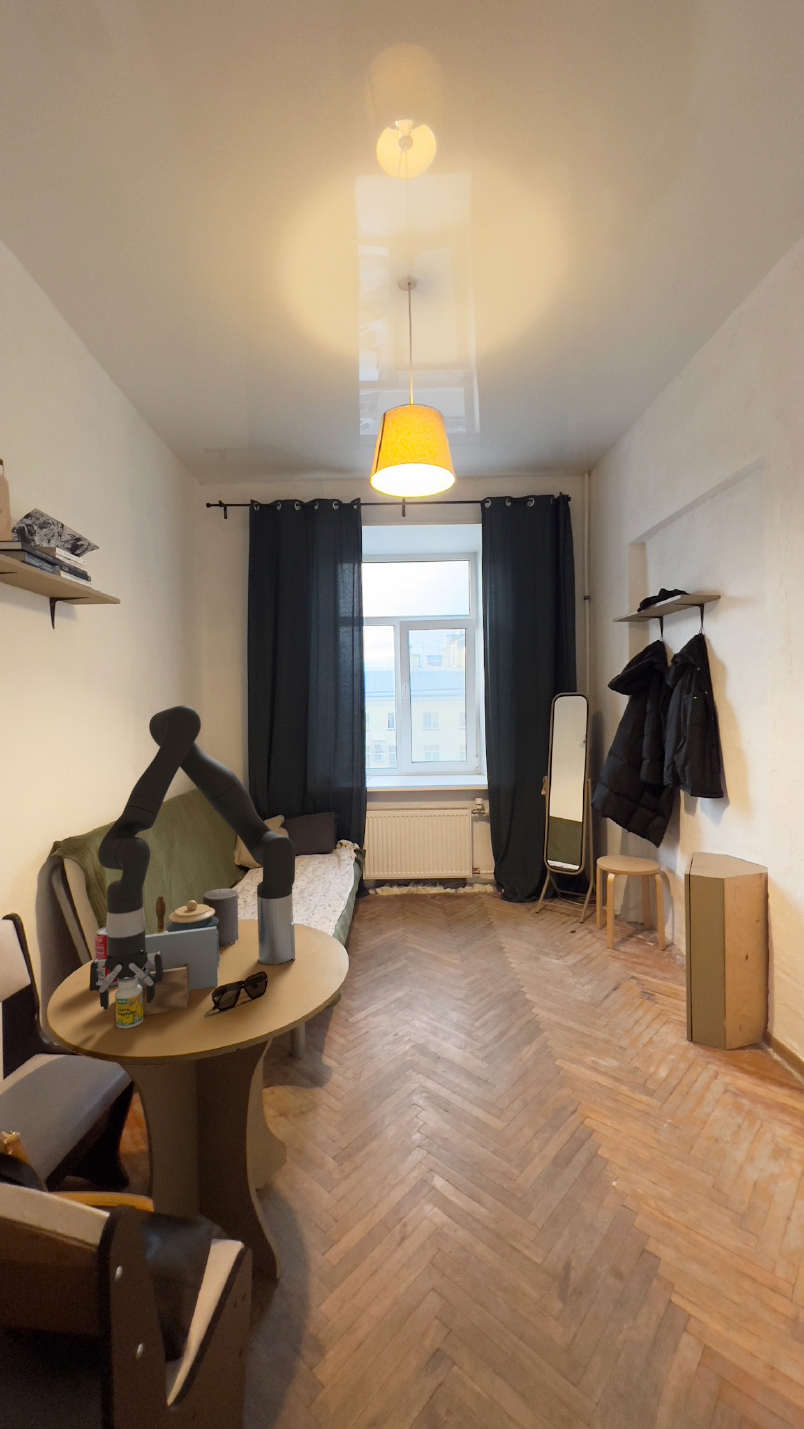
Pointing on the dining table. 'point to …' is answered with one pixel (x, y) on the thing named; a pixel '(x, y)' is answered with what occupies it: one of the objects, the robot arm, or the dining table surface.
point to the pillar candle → (224, 913)
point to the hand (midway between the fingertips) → (127, 1004)
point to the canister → (193, 919)
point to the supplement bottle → (129, 1003)
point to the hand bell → (160, 914)
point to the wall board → (187, 954)
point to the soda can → (103, 955)
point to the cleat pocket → (168, 991)
